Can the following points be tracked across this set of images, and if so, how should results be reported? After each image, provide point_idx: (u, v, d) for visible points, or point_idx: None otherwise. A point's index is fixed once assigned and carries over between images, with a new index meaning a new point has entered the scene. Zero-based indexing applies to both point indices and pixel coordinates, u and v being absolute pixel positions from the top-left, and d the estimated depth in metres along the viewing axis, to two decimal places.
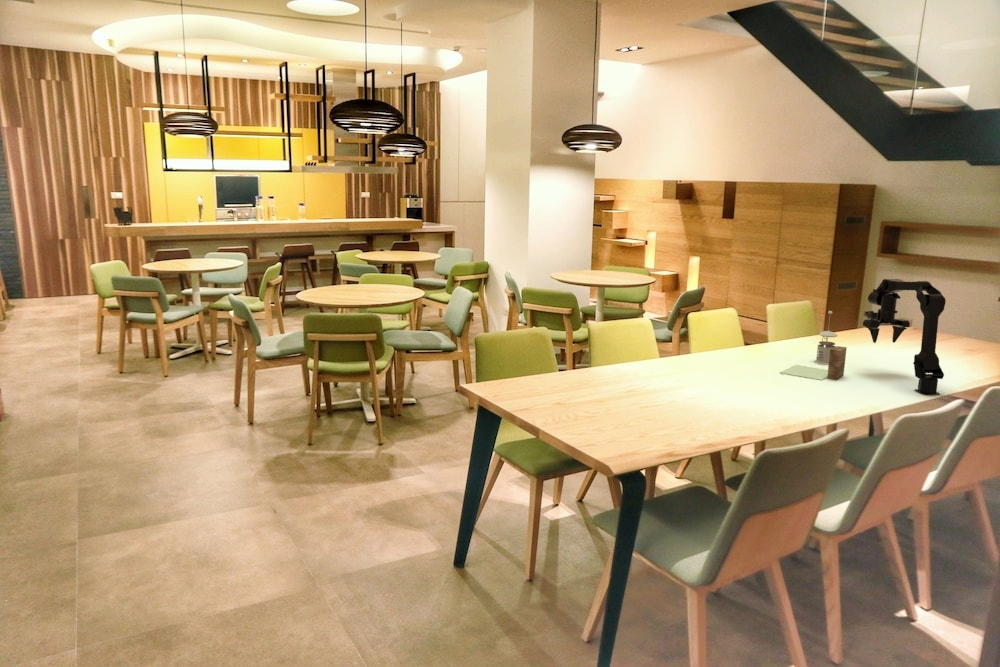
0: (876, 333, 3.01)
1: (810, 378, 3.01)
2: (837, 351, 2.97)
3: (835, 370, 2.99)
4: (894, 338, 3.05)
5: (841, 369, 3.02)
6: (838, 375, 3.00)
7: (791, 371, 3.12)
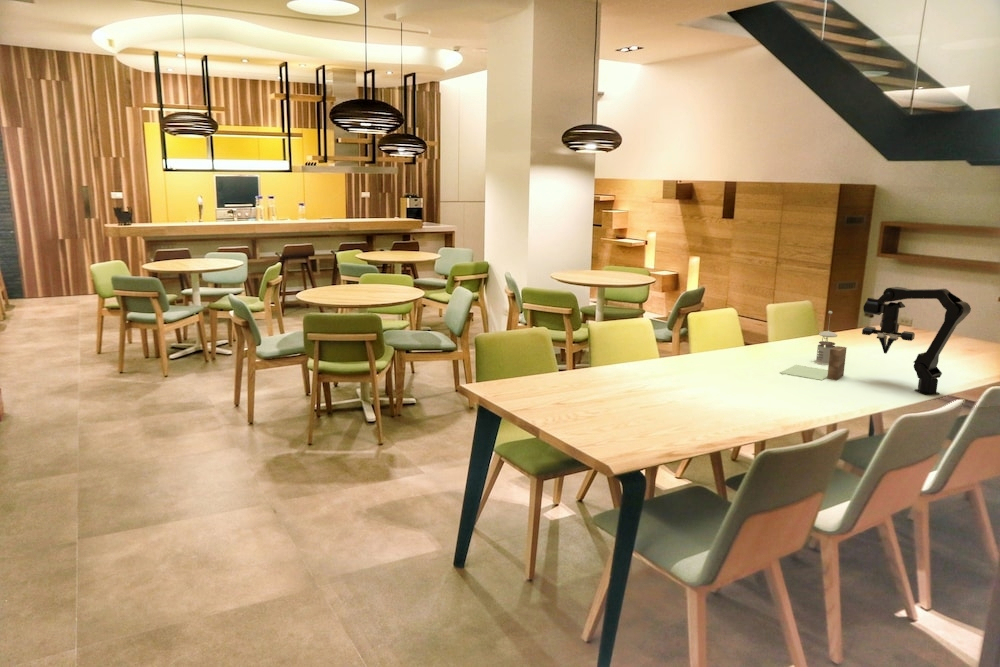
0: (881, 342, 2.91)
1: (810, 378, 3.01)
2: (837, 351, 2.97)
3: (835, 370, 2.99)
4: None
5: (841, 369, 3.02)
6: (838, 375, 3.00)
7: (791, 371, 3.12)
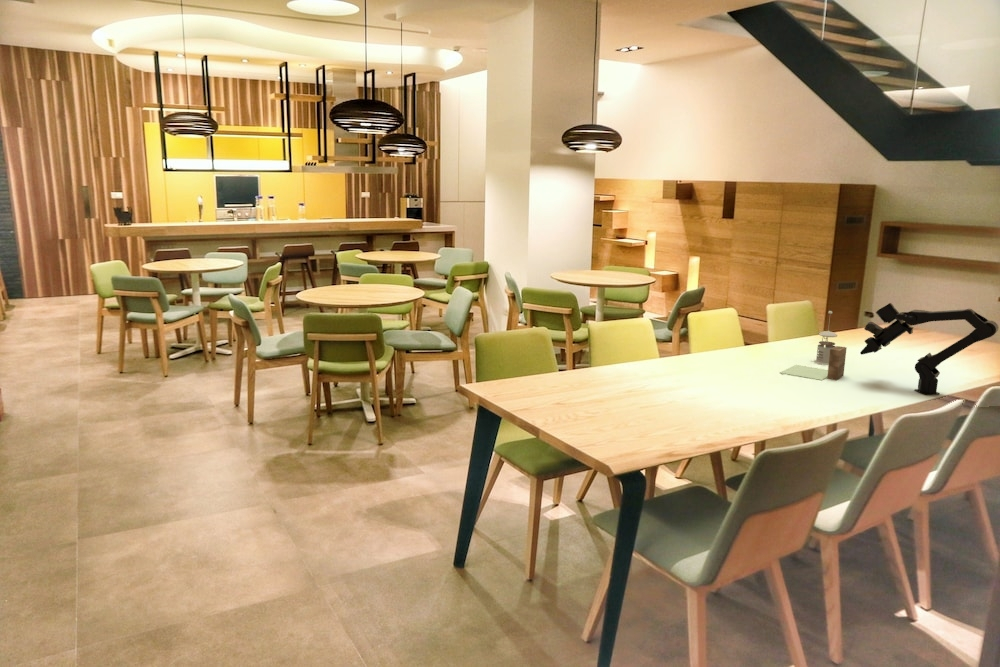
0: (872, 351, 2.91)
1: (810, 378, 3.01)
2: (837, 351, 2.97)
3: (835, 370, 2.99)
4: None
5: (841, 369, 3.02)
6: (838, 375, 3.00)
7: (791, 371, 3.12)
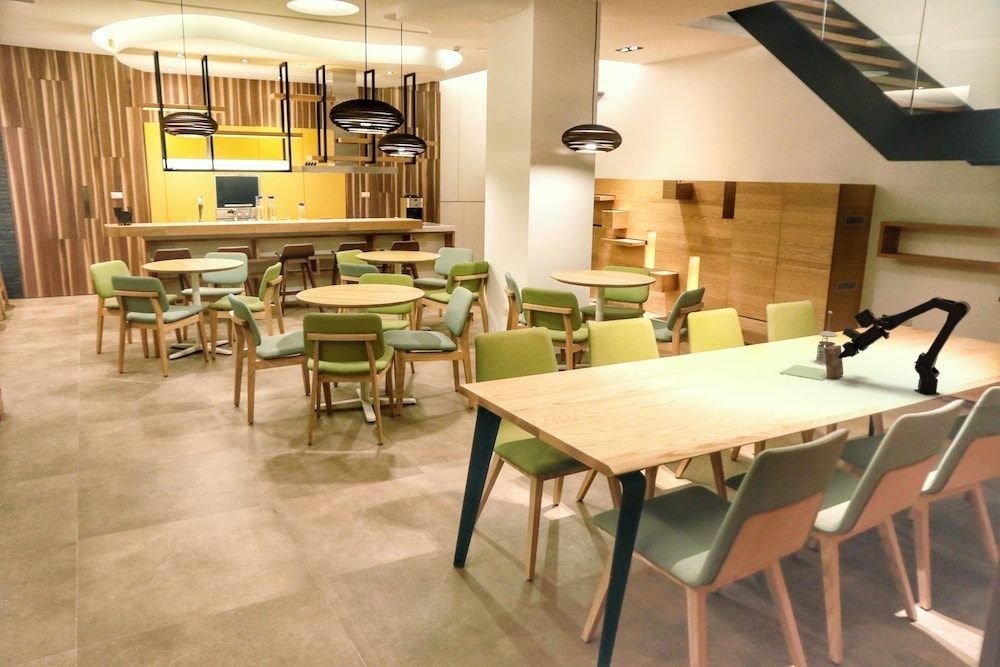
0: None
1: (810, 378, 3.01)
2: (831, 349, 2.99)
3: (833, 368, 2.99)
4: None
5: (839, 367, 3.02)
6: (837, 373, 3.00)
7: (791, 371, 3.12)
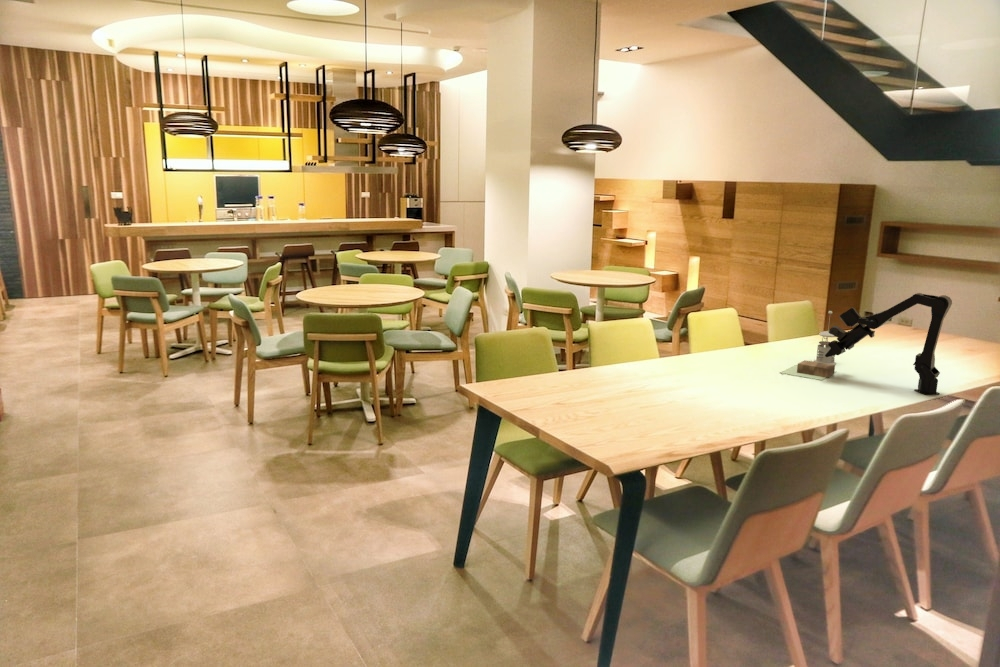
0: (836, 354, 3.01)
1: (810, 378, 3.01)
2: (798, 366, 3.09)
3: (817, 369, 3.04)
4: None
5: (823, 365, 3.07)
6: (825, 367, 3.03)
7: (791, 371, 3.12)
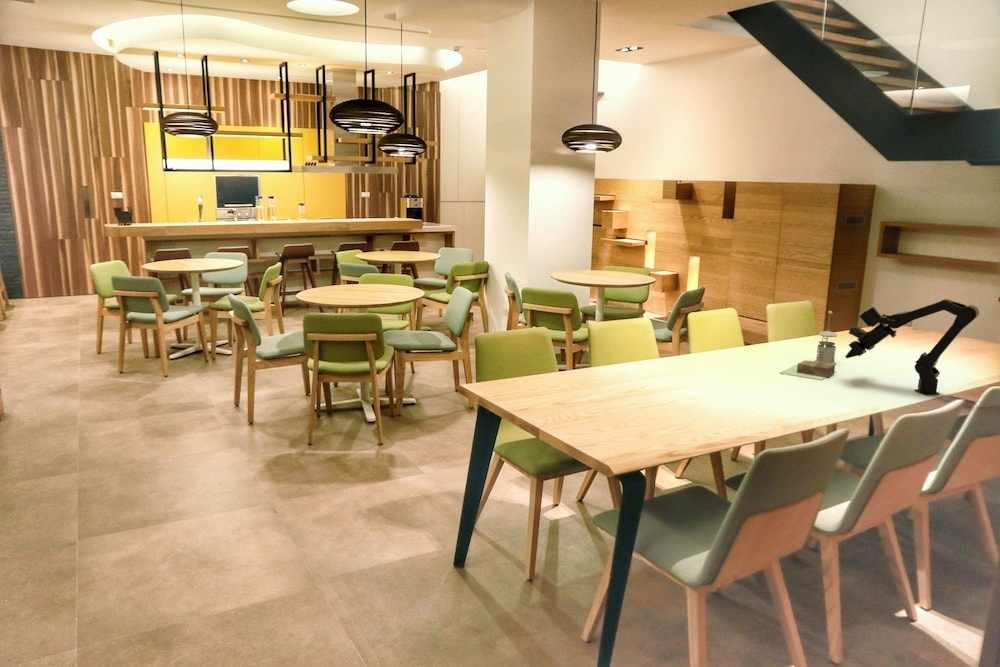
0: (857, 355, 2.95)
1: (810, 378, 3.01)
2: (798, 366, 3.09)
3: (817, 369, 3.04)
4: None
5: (823, 365, 3.07)
6: (825, 367, 3.03)
7: (791, 371, 3.12)
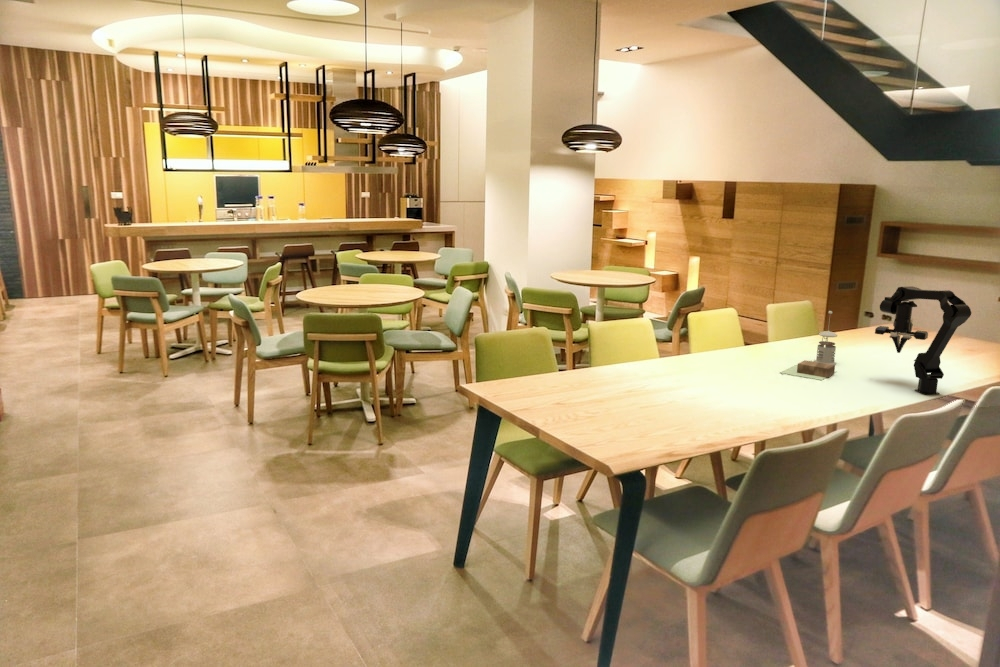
0: (895, 342, 2.92)
1: (810, 378, 3.01)
2: (798, 366, 3.09)
3: (817, 369, 3.04)
4: None
5: (823, 365, 3.07)
6: (825, 367, 3.03)
7: (791, 371, 3.12)
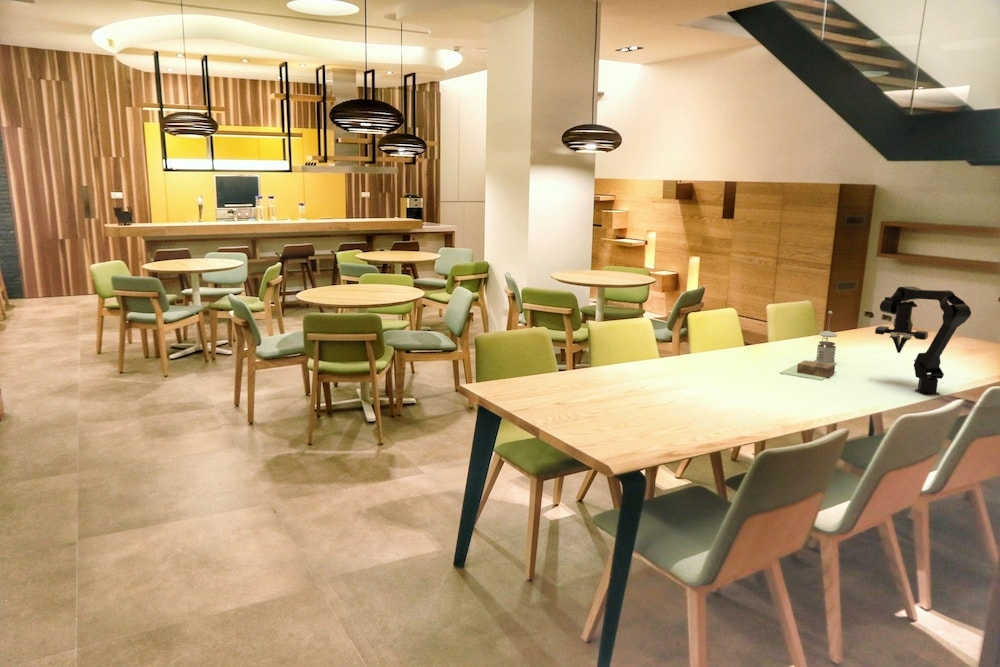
0: (895, 342, 2.92)
1: (810, 378, 3.01)
2: (798, 366, 3.09)
3: (817, 369, 3.04)
4: None
5: (823, 365, 3.07)
6: (825, 367, 3.03)
7: (791, 371, 3.12)
